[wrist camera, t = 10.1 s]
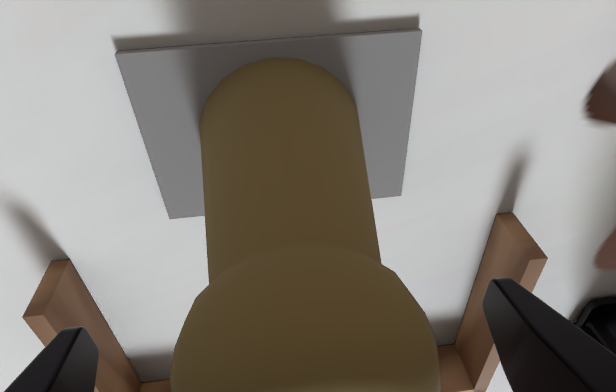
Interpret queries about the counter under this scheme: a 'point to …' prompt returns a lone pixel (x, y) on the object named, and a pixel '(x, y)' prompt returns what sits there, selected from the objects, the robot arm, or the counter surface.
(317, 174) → the cork
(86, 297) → the wooden u-shaped frame
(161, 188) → the grey mat
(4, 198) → the counter surface
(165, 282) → the counter surface
